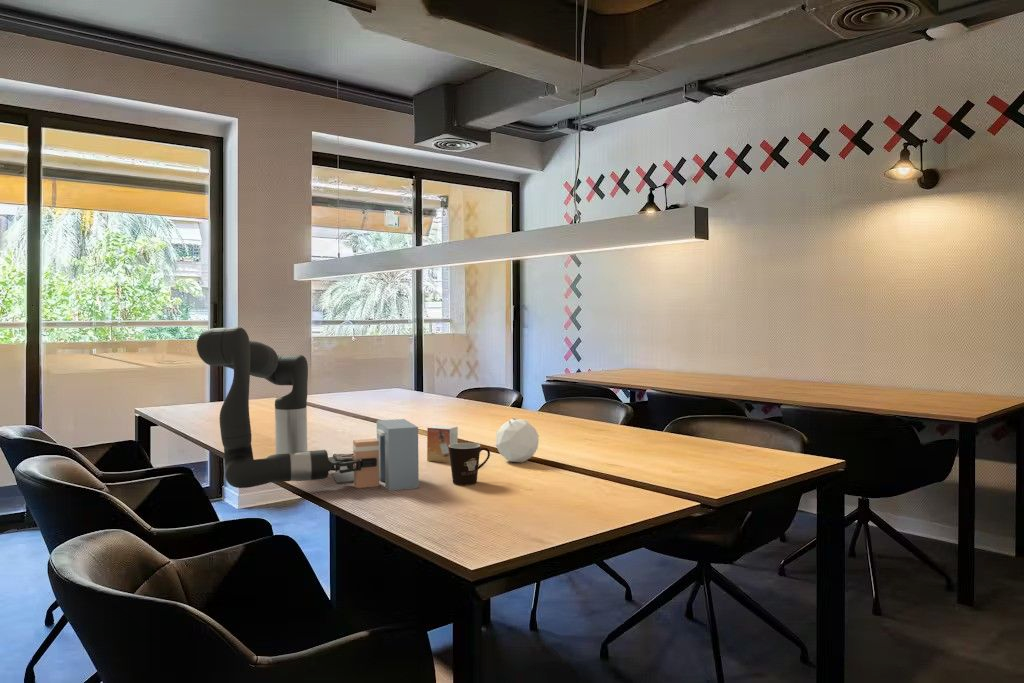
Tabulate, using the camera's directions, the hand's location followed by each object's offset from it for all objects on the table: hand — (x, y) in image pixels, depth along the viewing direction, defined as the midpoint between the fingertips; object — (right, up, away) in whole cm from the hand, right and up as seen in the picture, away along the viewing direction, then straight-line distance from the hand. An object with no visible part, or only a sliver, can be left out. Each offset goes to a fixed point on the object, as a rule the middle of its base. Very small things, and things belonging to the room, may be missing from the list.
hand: (374, 460), depth 193 cm
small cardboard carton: (-2, -7, -1) cm, 7 cm away
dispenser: (+5, -6, +2) cm, 8 cm away
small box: (+15, -5, +32) cm, 36 cm away
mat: (-7, -6, +9) cm, 13 cm away
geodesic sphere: (+38, -5, +30) cm, 49 cm away
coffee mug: (+25, -7, +2) cm, 26 cm away
